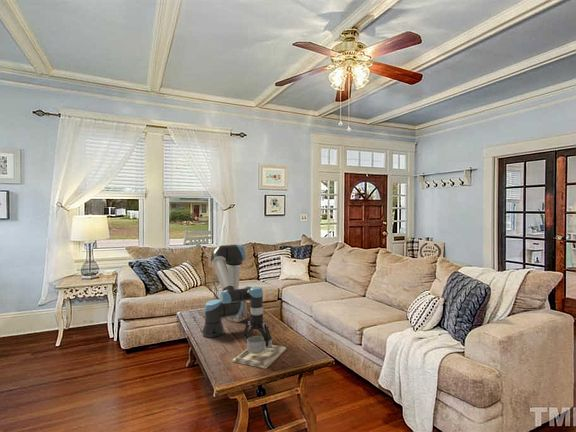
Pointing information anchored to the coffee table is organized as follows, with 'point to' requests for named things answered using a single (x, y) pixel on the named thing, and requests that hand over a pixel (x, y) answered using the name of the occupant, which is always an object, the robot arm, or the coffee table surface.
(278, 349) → the carrier board
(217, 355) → the coffee table surface
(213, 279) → the geometric lantern
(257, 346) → the teacup
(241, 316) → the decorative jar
